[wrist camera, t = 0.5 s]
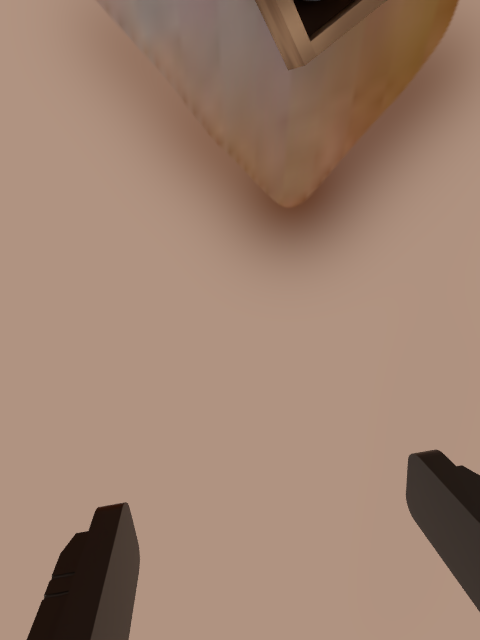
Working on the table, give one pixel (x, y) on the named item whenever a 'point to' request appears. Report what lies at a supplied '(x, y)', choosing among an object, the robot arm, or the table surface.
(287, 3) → the walnut holder
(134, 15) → the table surface
